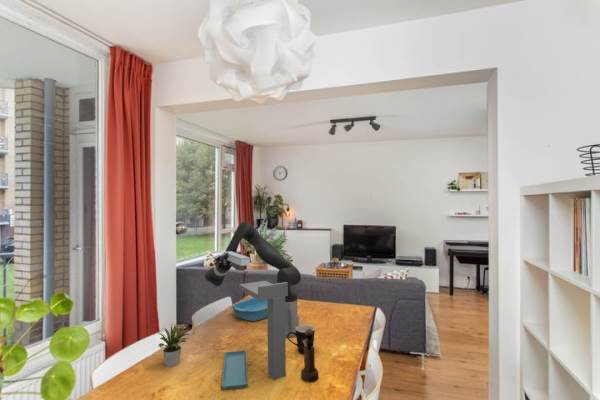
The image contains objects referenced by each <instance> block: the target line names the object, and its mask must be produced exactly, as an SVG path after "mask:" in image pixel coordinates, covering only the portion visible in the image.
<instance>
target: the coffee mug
mask: <svg viewBox="0 0 600 400" xmlns="http://www.w3.org/2000/svg"><path fill="white" fill-rule="evenodd" d="M307 329H311V330H312V331H313V336H312V338H311V341H312V345H311V346H313V347H314V344H315V343H314V340H315V333H316V332H315V331H316V327H314V326H313V325H308V324H303V325H299V326H298V327H296V333H294V332H290V333H288V335H287V337H286V338H287V340H288V341H289V342H290V343H292V344H293V345H294V346H296V348H297V351H298V353H299V354H300V355H303V356H304V347H305V346H307V344H306V341H307V337H306V335H305V331H306V330H307ZM291 333H293V334H295V336H294V337H296V342H294V341H292V340H291V338H290V337H288V336H289V334H291Z"/></svg>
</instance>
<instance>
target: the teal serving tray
mask: <svg viewBox="0 0 600 400" xmlns="http://www.w3.org/2000/svg"><path fill="white" fill-rule="evenodd" d="M247 352H248V351H247V350H235V351H226V352H224V360H223V367H222V368H223V371H222V381H221V387H222V389H223V390H224V391H226V390H236V389H243V388H244V389H245V388H246V387H247V386H248V384H249V382H248V361H247V360H248V359H247V357H248V356H247V355H248V354H247Z"/></svg>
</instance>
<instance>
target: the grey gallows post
mask: <svg viewBox="0 0 600 400" xmlns="http://www.w3.org/2000/svg"><path fill="white" fill-rule="evenodd" d="M238 287H239V288H238V289H239V290H240V291H242V292H244V293H245V294H247V295H248V296H250V297H252V298H255V299H257V300H259V301H262V300H268V317H267V375H268V376H269V377H270V378H271V379H272V380H274V381H275V380H278V379H281V378H285V377H286V376H287V373H286V372H287V370H286V369H287V368H286V367H287V365H286V361H287V360H286V359H287V357H286V355H287V354H286V353H287V352H286V337H285V296H288V283H287V282H284V283H277V282H276V283H271V282H269V281H267V280H261V281H255V282H253V281H252V282H246V283H240V284H239V285H238Z"/></svg>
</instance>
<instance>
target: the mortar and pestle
mask: <svg viewBox="0 0 600 400" xmlns="http://www.w3.org/2000/svg"><path fill="white" fill-rule="evenodd" d="M305 335H306V337H307V341H306V344H307V346H305V347H304V355H303V360H304V362H303V363H304V364H303V368H302V369H301V370H300V379H301V380H302V381H303V382H305V383H306V382H307V383H313V382H316V381H317V380H318V379H319V370H318V369H317V368H316V367H315V365H316V364H315V361H316V360H315V347H314V345H313V346H311V345H312V341H311V338H312V336H313V331H312V330H311V329H307V330H306V331H305Z"/></svg>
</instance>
